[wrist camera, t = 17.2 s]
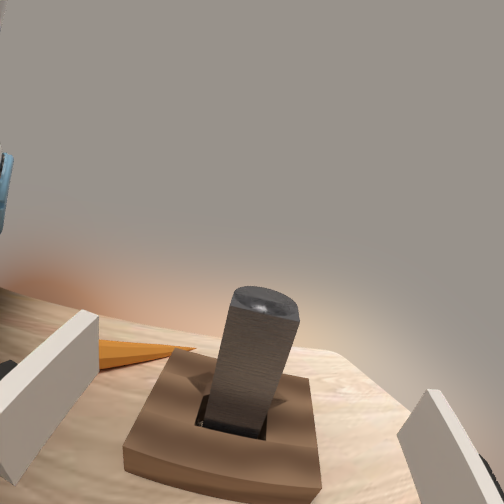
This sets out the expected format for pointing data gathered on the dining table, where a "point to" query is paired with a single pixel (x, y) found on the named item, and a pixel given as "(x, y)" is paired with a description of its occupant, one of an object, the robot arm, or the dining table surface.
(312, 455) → the socket block
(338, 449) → the dining table surface
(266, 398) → the d peg
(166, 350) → the carrot
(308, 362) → the dining table surface
